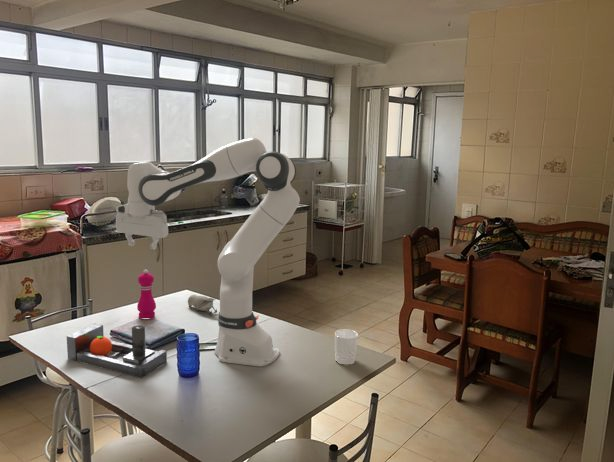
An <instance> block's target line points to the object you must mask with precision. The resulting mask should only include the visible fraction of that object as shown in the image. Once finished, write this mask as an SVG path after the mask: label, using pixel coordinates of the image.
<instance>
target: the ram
mask: <svg viewBox="0 0 614 462" xmlns="http://www.w3.org/2000/svg"><path fill="white" fill-rule="evenodd" d="M131 342H132V344H131V345H132V352H131V353H129V354H128V355H124V356H122V361H124V362H128V363H132V364H136V365H137V364H138V363H140V362H142V361H143V360H145V359H147V358H148V357H150V356H152V355H153V354H155V351H156V350H153V349H149V350H148V348H146V326H145V325H139V324H138V325H134V326H132V327H131Z"/></svg>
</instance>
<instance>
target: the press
mask: <svg viewBox="0 0 614 462" xmlns="http://www.w3.org/2000/svg"><path fill="white" fill-rule="evenodd" d="M104 335H105V333H104V325H103V324H99V323H93V324H91V325H88V326H86V327H84V328H81V329H79V330H78V331H75V332H73V333H71V334H68V335H66V348H67V349H66V350H67V351H66V352H67V360H70V361H74V362H79V363H82V364H86V365H90V366H94V367H97V368H99V369H100V368H101V369H105V370H108V371H113V372H116V373H120V374H123V375H127V376H132V377H135V378H139V379H143V378H145V377H146V376H147V375H149V374H151V373H152V372H153V371H156V370H157V369H159V368H160V367H162V366H163V365H165V364H166V363H167V362H168V361H167V360H168V359H167V358H168V355H167V350H165V349H160V350H159V351H158V350H154V351H155V354H153V355H152V356H150V357H148V358H147V359H145V360H143V361H142V362H140V363H138V364H137V365H136V364H132V363H128V362H124V361H123V360H119V359H117V358H119V357H120V356H122V355H124V356H126V355H128V354H129V353H131V352H132V344H128V343H124V342H119V341H115V340H110V339H109V340H110V341H111V343H112V350H111V352H112V353H114V354H112V355H110V356H109V357H107V356H106V357H104V356H100V355H96V354H92V353H91V352H90V344H91V342H92V341H93V340H94V339H95V338H96V337H97V336H102V337H105V336H104ZM147 349H148V348H147ZM148 350H150V349H148ZM111 352H110V353H111Z"/></svg>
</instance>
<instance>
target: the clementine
mask: <svg viewBox="0 0 614 462" xmlns="http://www.w3.org/2000/svg"><path fill="white" fill-rule="evenodd" d="M111 341H112V340H111ZM111 341H110V339H109V338H108V337H106V336H104V337H102V336H97V337H96V338H95V339H94V340H93V341H92V342H91V344H90V352H91V353H92V354H96V355H100V356H104V357H107V356H108V355H110V353H111V350H112V343H111Z"/></svg>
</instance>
